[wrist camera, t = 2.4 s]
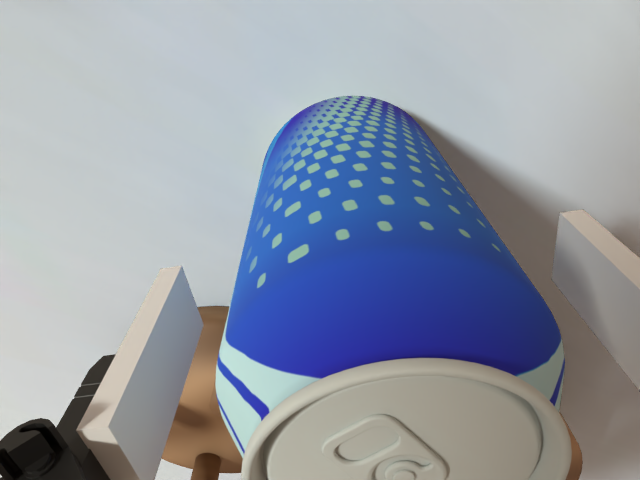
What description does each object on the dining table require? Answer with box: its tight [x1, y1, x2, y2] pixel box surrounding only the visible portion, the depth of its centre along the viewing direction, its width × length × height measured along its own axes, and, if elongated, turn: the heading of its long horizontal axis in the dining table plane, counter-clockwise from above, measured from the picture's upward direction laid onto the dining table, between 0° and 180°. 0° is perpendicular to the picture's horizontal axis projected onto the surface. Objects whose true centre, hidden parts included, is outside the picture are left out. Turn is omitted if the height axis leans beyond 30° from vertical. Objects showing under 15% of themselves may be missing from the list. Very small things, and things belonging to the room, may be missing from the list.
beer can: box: [215, 96, 572, 480], centre depth 16 cm, size 8×8×16 cm
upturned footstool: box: [161, 306, 243, 480], centre depth 28 cm, size 14×14×6 cm
